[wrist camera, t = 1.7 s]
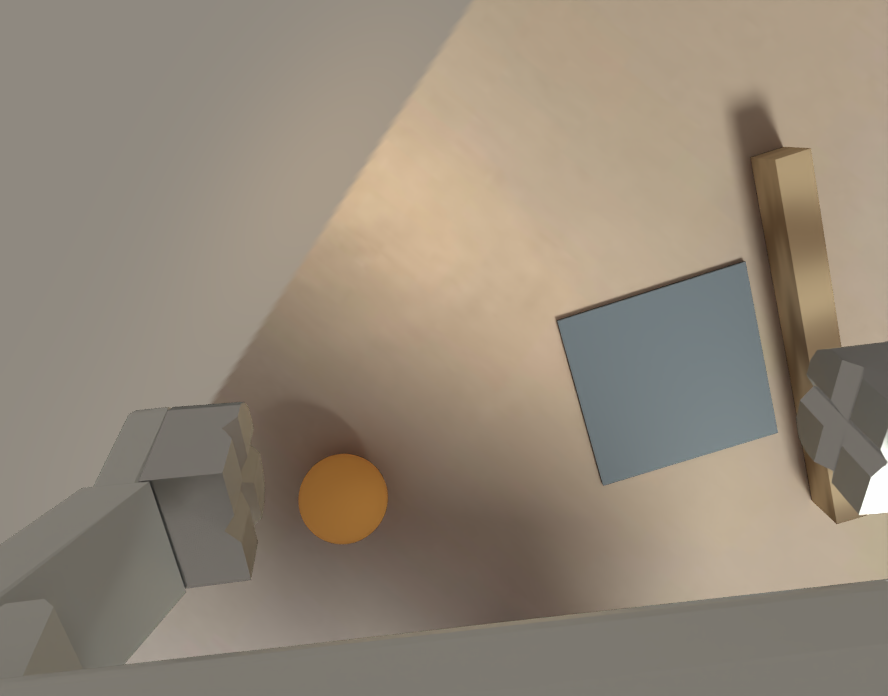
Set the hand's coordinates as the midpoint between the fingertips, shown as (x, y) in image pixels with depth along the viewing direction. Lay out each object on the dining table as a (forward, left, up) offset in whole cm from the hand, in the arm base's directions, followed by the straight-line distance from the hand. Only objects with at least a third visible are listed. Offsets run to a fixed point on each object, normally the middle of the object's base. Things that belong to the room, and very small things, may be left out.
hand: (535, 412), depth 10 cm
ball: (-15, +11, -31) cm, 36 cm away
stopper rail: (-15, -19, -33) cm, 41 cm away
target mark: (-15, -11, -33) cm, 38 cm away
